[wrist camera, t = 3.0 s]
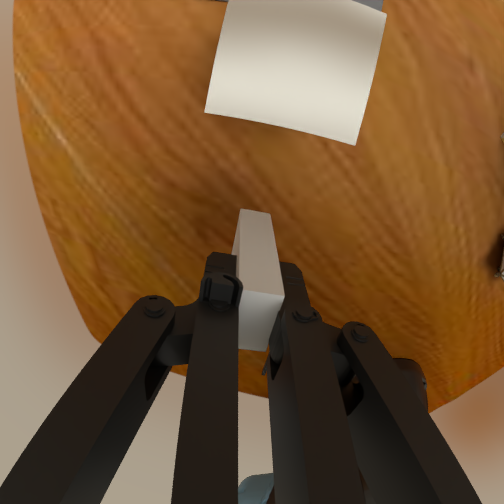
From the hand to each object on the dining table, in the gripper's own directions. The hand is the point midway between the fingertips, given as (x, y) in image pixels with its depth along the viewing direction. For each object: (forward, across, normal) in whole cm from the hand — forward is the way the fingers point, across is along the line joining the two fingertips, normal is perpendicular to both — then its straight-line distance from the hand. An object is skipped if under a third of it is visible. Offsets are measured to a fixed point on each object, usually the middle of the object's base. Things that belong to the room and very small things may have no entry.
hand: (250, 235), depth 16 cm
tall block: (+10, 0, -9) cm, 13 cm away
